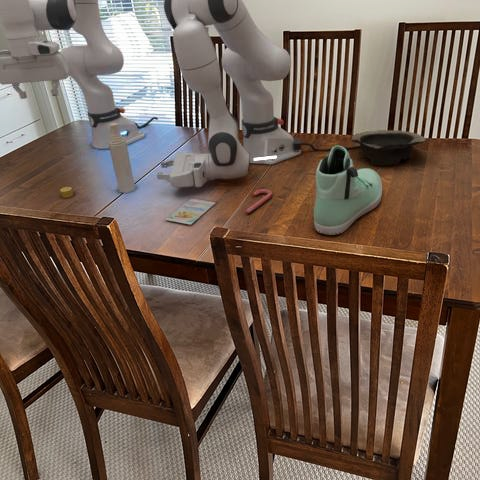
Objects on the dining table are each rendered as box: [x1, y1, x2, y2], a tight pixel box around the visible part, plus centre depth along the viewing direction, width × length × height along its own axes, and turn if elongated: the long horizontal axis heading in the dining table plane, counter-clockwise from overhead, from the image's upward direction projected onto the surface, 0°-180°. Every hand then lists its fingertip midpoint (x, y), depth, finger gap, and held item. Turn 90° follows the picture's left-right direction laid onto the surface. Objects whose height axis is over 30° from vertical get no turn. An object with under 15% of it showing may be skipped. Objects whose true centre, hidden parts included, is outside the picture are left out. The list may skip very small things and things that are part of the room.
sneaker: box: [313, 145, 383, 236], centre depth 133 cm, size 14×35×20 cm, turn 152°
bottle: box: [109, 123, 136, 194], centre depth 155 cm, size 6×6×22 cm
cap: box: [59, 186, 75, 199], centre depth 160 cm, size 4×4×2 cm
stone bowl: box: [351, 129, 427, 166], centre depth 167 cm, size 25×25×9 cm
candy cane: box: [245, 188, 273, 215], centre depth 146 cm, size 6×15×2 cm, turn 145°
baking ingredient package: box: [164, 198, 216, 226], centre depth 144 cm, size 9×1×15 cm
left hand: (39, 96), depth 143 cm, fingers open, 8 cm apart
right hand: (159, 170), depth 158 cm, fingers open, 8 cm apart
